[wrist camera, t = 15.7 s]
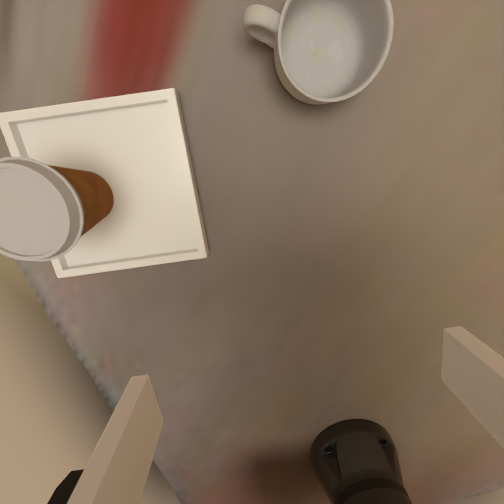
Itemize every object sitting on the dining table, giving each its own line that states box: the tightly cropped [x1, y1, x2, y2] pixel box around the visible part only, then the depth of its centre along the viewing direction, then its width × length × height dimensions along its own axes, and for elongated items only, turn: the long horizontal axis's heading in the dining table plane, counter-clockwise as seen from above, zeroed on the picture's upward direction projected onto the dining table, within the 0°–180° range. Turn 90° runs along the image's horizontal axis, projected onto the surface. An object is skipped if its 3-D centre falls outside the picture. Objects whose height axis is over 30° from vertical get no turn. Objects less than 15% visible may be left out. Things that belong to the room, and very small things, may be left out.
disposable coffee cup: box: [0, 157, 114, 261], centre depth 31 cm, size 10×10×12 cm
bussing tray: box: [0, 88, 209, 278], centre depth 36 cm, size 20×20×2 cm
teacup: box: [242, 0, 394, 105], centre depth 30 cm, size 14×11×8 cm
